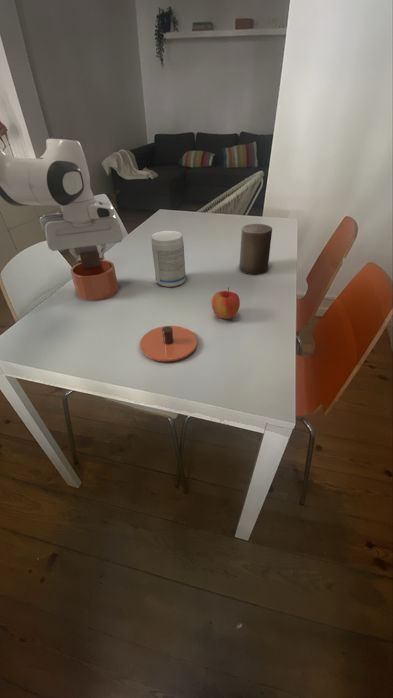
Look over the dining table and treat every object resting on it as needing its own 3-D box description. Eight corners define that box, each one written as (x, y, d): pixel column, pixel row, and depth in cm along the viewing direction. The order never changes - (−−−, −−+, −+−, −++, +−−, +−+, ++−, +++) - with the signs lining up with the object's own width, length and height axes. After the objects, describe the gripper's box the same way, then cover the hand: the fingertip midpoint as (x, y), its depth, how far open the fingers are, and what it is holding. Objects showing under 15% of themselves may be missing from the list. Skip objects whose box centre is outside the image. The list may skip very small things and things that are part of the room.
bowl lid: (146, 369, 69) (144, 352, 66) (135, 335, 79) (133, 319, 76) (204, 355, 72) (204, 339, 69) (187, 325, 82) (186, 309, 79)
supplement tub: (191, 281, 102) (190, 235, 93) (169, 291, 97) (165, 243, 88) (172, 272, 108) (169, 228, 99) (149, 281, 103) (144, 235, 94)
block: (83, 270, 91) (79, 253, 88) (82, 263, 94) (78, 247, 91) (101, 267, 92) (97, 251, 89) (99, 261, 96) (96, 245, 93)
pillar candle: (271, 273, 105) (277, 227, 96) (243, 276, 104) (246, 229, 95) (262, 262, 113) (267, 218, 104) (235, 264, 112) (238, 220, 103)
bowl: (77, 303, 92) (71, 279, 87) (76, 285, 101) (70, 263, 97) (120, 296, 95) (116, 272, 90) (115, 279, 104) (111, 257, 100)
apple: (207, 320, 84) (207, 293, 79) (217, 307, 89) (217, 281, 84) (233, 326, 81) (235, 299, 76) (242, 312, 86) (244, 286, 81)
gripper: (36, 217, 79) (53, 270, 87) (119, 209, 84) (127, 259, 92) (37, 211, 84) (53, 261, 92) (116, 203, 89) (124, 252, 97)
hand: (91, 260), depth 92 cm, fingers closed on block, 5 cm apart
